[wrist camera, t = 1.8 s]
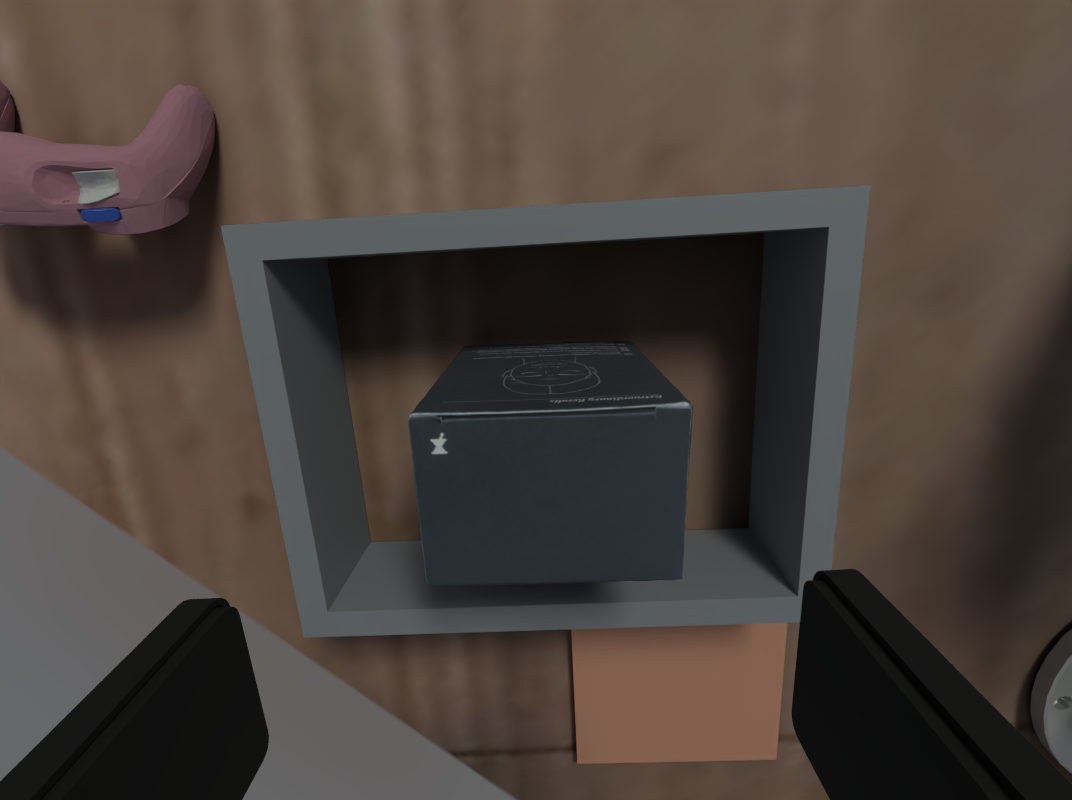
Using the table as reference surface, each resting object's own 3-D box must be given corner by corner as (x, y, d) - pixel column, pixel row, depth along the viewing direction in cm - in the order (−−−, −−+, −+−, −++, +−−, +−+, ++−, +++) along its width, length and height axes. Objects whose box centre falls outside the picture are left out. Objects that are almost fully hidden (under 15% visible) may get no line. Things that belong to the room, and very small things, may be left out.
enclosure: (794, 201, 22) (870, 185, 17) (771, 548, 27) (826, 621, 21) (295, 231, 23) (220, 225, 18) (351, 563, 28) (303, 637, 22)
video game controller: (37, 178, 24) (-108, 248, 19) (-28, 62, 21) (-221, 108, 16) (251, 193, 24) (165, 267, 19) (217, 79, 21) (102, 130, 16)
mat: (785, 579, 27) (790, 586, 27) (772, 749, 30) (776, 759, 30) (569, 586, 28) (569, 593, 27) (576, 754, 31) (577, 763, 30)
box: (471, 459, 26) (420, 592, 16) (463, 343, 24) (401, 408, 14) (633, 455, 26) (688, 588, 15) (635, 338, 24) (697, 400, 14)
